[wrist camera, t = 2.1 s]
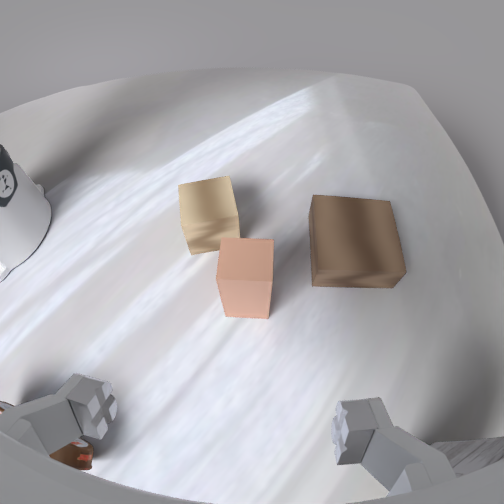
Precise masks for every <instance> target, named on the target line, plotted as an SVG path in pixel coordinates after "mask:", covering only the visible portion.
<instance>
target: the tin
mask: <svg viewBox="0 0 504 504" xmlns="http://www.w3.org/2000/svg"><path fill="white" fill-rule="evenodd" d="M11 407H14V406H13V405H11V404H9V403H6V402H2V401H0V415H1V413H2V412H3V411H4V410H5V409H7V408H11ZM49 456H50V458H52V459H54V460H56V461H59V462H61V463H63V464H66V465H68V466H70V467H73V468H75V469H78V470H90V469H91V468H92V465H91V463H92V457H93V446H92V445H91V444H90V443H88V442H87V441H85V440H83V439H81V438H78V439H76V440H74V441H73V442H71V443H69V444H67V445H66V446H64V447H62V448H61V449H59V450H57V451H55V452H54V453H52V454H50V455H49Z"/></svg>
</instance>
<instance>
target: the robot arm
mask: <svg viewBox="0 0 504 504" xmlns="http://www.w3.org/2000/svg"><path fill="white" fill-rule="evenodd" d="M50 220H51V206H50V204H49V202H48V201H47V200H46V198H45V197H44V188H43V187H42V186H41V185H40V184H37V185H35V184H34V183H33V181H32V180H31V179H30V178H29V176H28V175H27V174H26V173H25V171H24V170H23V169H22V168H21V166H20V165H19V164H17V163H13V161H12V160H11V158H10V155H9V154H8V152H7V151H6V150H5V149H4V147H3V146H2V145H1V144H0V282H1V281H2V280H3V279H4V278H5V277H6V276H7V275H8V273H9V272H10V271H11V270H12V269H13V268H15V267H16V266H18V265H19V264H21V263H22V262H24V261H25V260H26V259H27V258H28V257H29V256H30V255H31V254H32V253H33V252H34V251H35V250H36V248H37V247H38V246H39V244H40V243H41V241H42V239H43V238H44V236H45V234H46V232H47V229H48V227H49V224H50ZM112 391H113V389H112V386H111V383H110V382H108V381H105V380H101V379H97V378H93V377H90V376H85V375H82V374H78V373H75V374H73V375H72V376H71V377H70V378H69V379H68V380H67V382H66V383H65V384H64V385H63V386H62V387H61V388H60V389H59V390H58V391H57V392H56V393H55V395H53V394H50V395H47V396H44V397H41V398H38V399H35V400H32V401H29V402H26V403H23V404H20V405H17V406H14V407H11V408H7V409H5V410H4V411H3V412H2V413H1V415H0V504H212V503H204V502H197V501H191V500H185V499H179V498H174V497H169V496H164V495H160V494H155V493H151V492H147V491H143V490H139V489H135V488H132V487H128V486H125V485H121V484H118V483H115V482H111V481H108V480H105V479H102V478H99V477H97V476H94V475H91V474H88V473H86V472H83V471H80V470H78V469H75V468H73V467H70V466H68V465H66V464H63V463H61V462H59V461H56V460H54V459H52V458H50V456H49V455H50V454H52V453H54V452H55V451H57V450H59V449H61V448H62V447H64V446H66V445H67V444H69V443H71V442H73V441H74V440H76V439H78V438H79V437H81V436H83V435H86V436H89V437H93V438H96V439H100V440H102V438H103V436H104V435H105V433H106V432H107V430H108V426H107V424H108V423H110V422H112V421H113V420H114V418H115V416H116V412H117V403H116V399H115V398H114V397H113V396H112V395H111V392H112ZM336 413H337V415H336V416H335V417H334V418H333V422H332V430H331V434H332V441H333V443H334V444H335V445H336V448H335V451H334V452H335V457H336V462H337V465H345V464H357V463H361V465H362V466H363V467H364V468H365V469H366V470H367V471H368V472H369V473H370V474H371V475H372V476H374V477H375V478H376V479H377V480H378V481H379V482H380V483H381V484H382V485H383V486H384V487H385V488H386V489H387V490H389V491H390V492H389V494H388V495H387V496H386V497H385V498H380V499H374V500H368V501H362V502H355V503H347V504H504V459H502V460H500V461H497V462H495V463H493V464H491V465H488V466H486V467H484V468H481V469H479V470H477V471H474V472H472V473H469V474H466V475H464V476H461V477H458V478H457V477H456V475H455V473H454V471H453V469H452V467H451V465H450V463H449V461H448V459H447V457H446V455H445V454H443V453H442V452H440V451H438V450H436V449H435V448H433V447H431V446H429V445H428V444H426V443H424V442H423V441H421V440H419V439H418V438H416V437H414V436H413V435H411V434H409V433H408V432H406V431H404V430H403V429H401V428H400V427H398V426H396V427H394V426H393V424H392V422H391V419H390V417H389V415H388V413H387V410H386V408H385V406H384V404H383V402H382V400H381V398H379V397H377V398H368V399H359V400H345V401H338V403H337V406H336ZM82 434H83V435H82Z"/></svg>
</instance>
